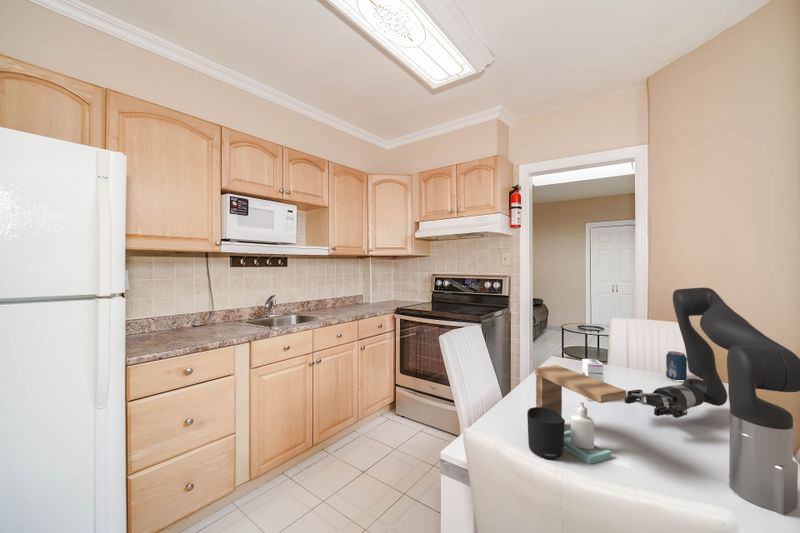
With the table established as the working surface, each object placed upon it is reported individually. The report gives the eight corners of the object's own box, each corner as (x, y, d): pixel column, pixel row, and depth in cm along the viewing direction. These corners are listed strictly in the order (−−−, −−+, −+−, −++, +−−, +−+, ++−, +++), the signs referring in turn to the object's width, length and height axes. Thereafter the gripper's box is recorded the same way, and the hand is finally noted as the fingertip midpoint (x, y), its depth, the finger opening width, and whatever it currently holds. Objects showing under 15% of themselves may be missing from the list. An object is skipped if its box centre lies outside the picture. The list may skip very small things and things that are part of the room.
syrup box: (604, 402, 117) (604, 363, 117) (587, 400, 119) (587, 362, 119) (598, 396, 123) (598, 359, 123) (581, 394, 124) (581, 358, 124)
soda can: (684, 378, 142) (684, 352, 142) (688, 383, 136) (688, 356, 136) (664, 375, 146) (664, 350, 146) (667, 380, 140) (667, 353, 140)
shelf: (625, 463, 81) (625, 390, 81) (600, 471, 78) (600, 395, 78) (556, 423, 102) (557, 364, 102) (534, 428, 99) (535, 367, 99)
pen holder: (521, 450, 87) (521, 414, 87) (535, 437, 93) (535, 404, 93) (557, 466, 80) (557, 427, 80) (569, 450, 87) (569, 414, 87)
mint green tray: (611, 457, 84) (611, 451, 84) (589, 464, 81) (589, 457, 81) (572, 434, 95) (572, 429, 95) (552, 439, 92) (552, 434, 92)
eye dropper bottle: (574, 438, 92) (574, 397, 92) (596, 447, 87) (596, 404, 87) (568, 444, 89) (568, 402, 89) (590, 453, 84) (590, 409, 84)
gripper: (650, 379, 108) (617, 385, 103) (701, 395, 95) (666, 403, 89) (650, 400, 108) (617, 408, 103) (701, 420, 95) (666, 429, 89)
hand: (640, 405), depth 96 cm, fingers open, 8 cm apart
